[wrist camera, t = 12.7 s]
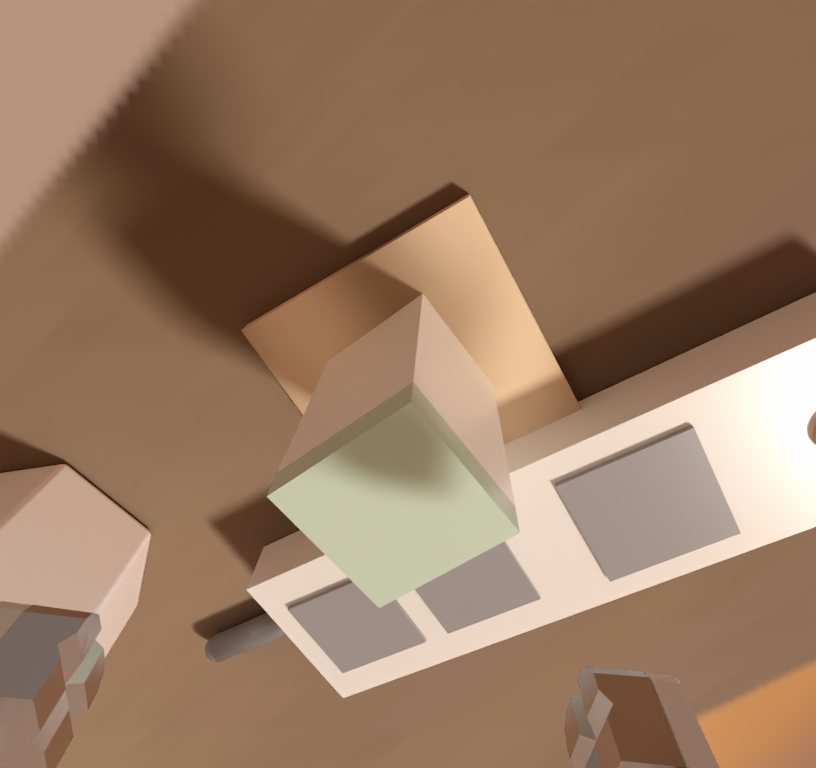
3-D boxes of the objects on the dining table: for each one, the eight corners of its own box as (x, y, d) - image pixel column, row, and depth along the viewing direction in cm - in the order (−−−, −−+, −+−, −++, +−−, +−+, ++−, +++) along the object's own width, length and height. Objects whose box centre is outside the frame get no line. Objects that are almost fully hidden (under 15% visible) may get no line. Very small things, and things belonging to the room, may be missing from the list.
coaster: (378, 506, 24) (376, 515, 24) (246, 325, 21) (241, 330, 20) (583, 412, 22) (587, 419, 21) (469, 193, 19) (470, 195, 18)
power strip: (257, 686, 29) (239, 741, 27) (165, 592, 27) (136, 642, 24) (897, 439, 22) (957, 482, 19) (849, 276, 19) (911, 301, 17)
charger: (399, 444, 22) (379, 608, 15) (327, 361, 21) (266, 496, 14) (493, 385, 21) (520, 532, 14) (422, 293, 20) (411, 402, 12)
